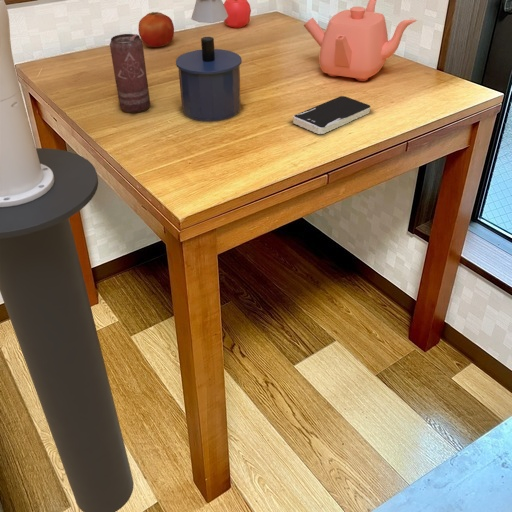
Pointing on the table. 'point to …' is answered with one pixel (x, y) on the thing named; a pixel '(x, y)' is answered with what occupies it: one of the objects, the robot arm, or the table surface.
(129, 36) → the can
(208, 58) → the pot lid
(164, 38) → the tomato
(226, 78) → the pot
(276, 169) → the table surface
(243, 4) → the apple
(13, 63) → the robot arm
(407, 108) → the table surface
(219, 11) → the flask
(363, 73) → the teapot
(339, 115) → the smartphone
